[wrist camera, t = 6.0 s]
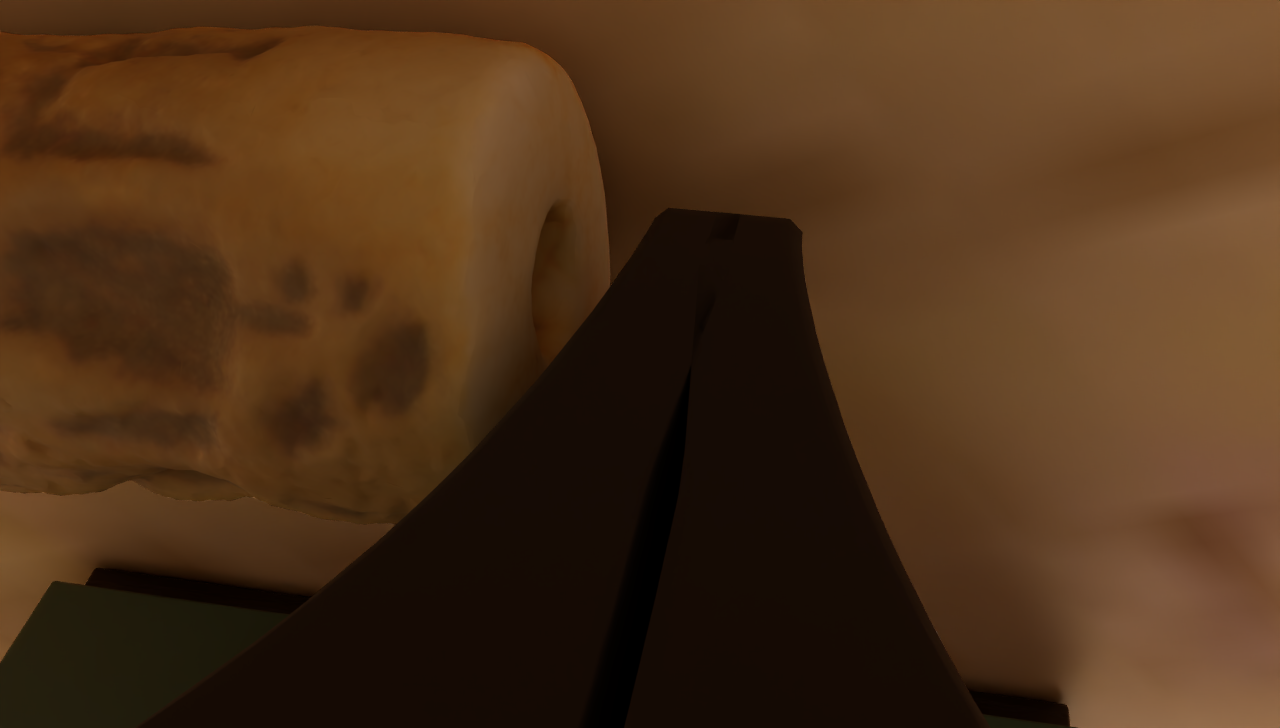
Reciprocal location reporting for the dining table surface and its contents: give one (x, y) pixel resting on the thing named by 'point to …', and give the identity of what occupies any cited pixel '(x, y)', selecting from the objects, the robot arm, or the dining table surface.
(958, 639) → the dining table surface
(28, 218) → the tan cylinder with hole
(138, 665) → the toaster
